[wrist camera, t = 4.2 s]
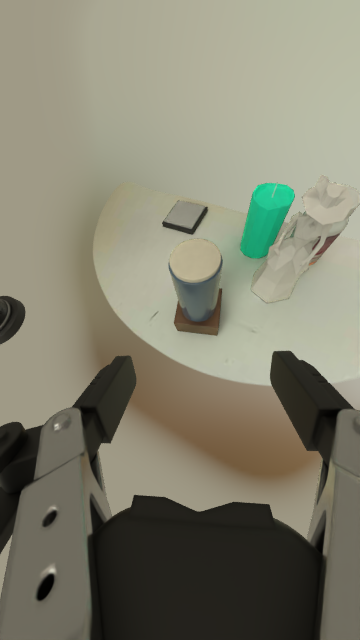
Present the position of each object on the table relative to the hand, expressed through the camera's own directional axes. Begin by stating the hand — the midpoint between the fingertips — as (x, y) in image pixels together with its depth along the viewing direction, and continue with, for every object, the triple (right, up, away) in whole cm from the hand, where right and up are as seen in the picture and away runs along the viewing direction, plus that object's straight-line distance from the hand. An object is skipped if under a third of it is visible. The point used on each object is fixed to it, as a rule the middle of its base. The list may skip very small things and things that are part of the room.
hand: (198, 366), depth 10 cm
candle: (+15, +18, +26) cm, 35 cm away
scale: (0, +27, +32) cm, 42 cm away
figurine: (+16, +9, +22) cm, 29 cm away
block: (+2, +4, +22) cm, 22 cm away
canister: (+2, +5, +18) cm, 19 cm away
